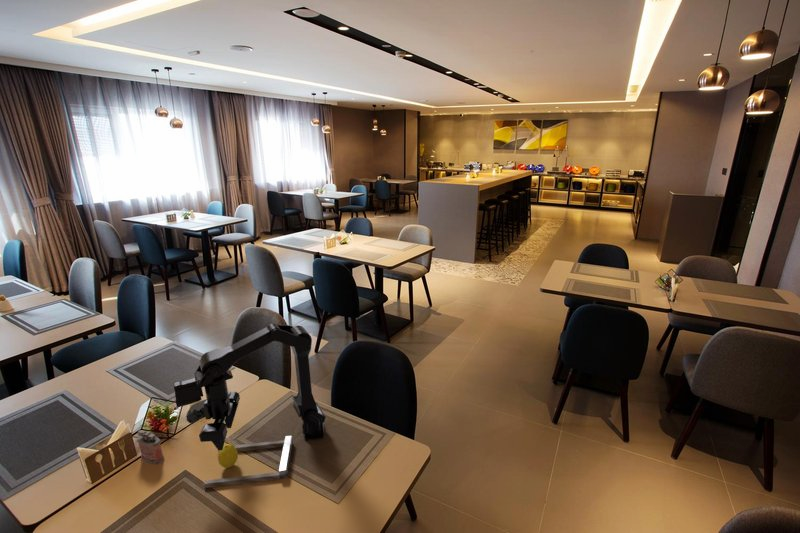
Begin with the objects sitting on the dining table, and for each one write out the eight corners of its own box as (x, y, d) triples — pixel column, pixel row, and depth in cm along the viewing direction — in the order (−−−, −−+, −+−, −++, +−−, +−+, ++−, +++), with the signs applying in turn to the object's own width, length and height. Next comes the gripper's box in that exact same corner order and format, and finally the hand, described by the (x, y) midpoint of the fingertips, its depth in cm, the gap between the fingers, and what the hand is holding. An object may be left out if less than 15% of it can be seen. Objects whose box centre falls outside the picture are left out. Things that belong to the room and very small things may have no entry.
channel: (292, 443, 129) (291, 435, 128) (286, 478, 115) (285, 470, 114) (219, 450, 126) (218, 443, 125) (204, 487, 112) (203, 479, 111)
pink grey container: (167, 457, 123) (161, 431, 120) (157, 465, 120) (151, 439, 117) (148, 451, 126) (142, 426, 123) (138, 459, 123) (131, 433, 120)
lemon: (232, 475, 117) (228, 453, 114) (216, 472, 118) (212, 450, 115) (243, 461, 122) (239, 440, 119) (227, 458, 123) (223, 437, 120)
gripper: (199, 378, 120) (207, 420, 125) (174, 418, 102) (184, 466, 107) (236, 375, 121) (243, 416, 126) (218, 414, 104) (227, 461, 108)
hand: (225, 438), depth 117 cm, fingers open, 9 cm apart
